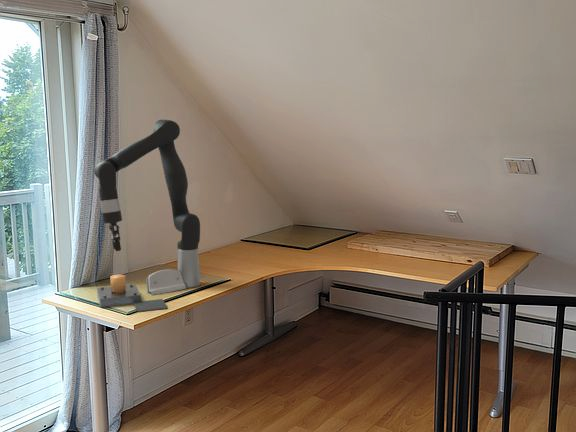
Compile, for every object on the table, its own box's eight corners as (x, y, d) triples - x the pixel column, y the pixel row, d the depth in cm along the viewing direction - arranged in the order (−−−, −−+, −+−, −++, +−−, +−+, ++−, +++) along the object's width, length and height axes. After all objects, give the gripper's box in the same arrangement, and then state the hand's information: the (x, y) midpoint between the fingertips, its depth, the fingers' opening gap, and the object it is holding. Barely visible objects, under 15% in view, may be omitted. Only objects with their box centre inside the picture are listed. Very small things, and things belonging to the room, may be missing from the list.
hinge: (151, 295, 261) (147, 272, 262) (147, 296, 264) (143, 273, 265) (186, 288, 270) (182, 266, 271) (182, 289, 274) (178, 267, 275)
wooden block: (125, 296, 258) (124, 274, 257) (127, 300, 253) (126, 277, 251) (110, 298, 256) (109, 275, 254) (112, 302, 251) (111, 279, 249)
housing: (135, 292, 265) (135, 283, 264) (140, 303, 250) (140, 293, 249) (97, 295, 259) (96, 286, 258) (100, 307, 244) (100, 297, 244)
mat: (162, 300, 254) (162, 298, 254) (167, 308, 243) (167, 307, 243) (133, 303, 250) (133, 302, 250) (137, 312, 239) (137, 310, 239)
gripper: (122, 210, 242) (128, 249, 244) (118, 208, 255) (124, 246, 257) (102, 212, 240) (109, 253, 241) (100, 211, 253) (106, 249, 254)
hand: (117, 249), depth 249 cm, fingers open, 8 cm apart
